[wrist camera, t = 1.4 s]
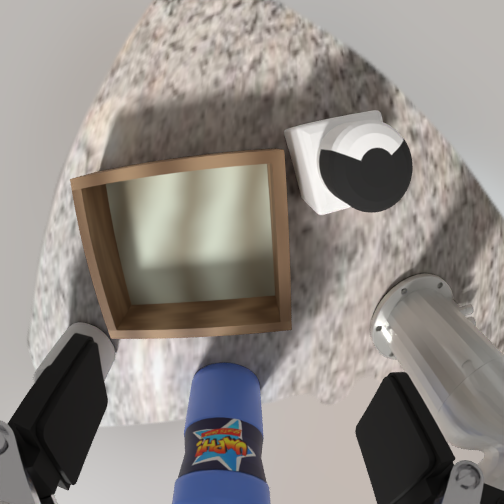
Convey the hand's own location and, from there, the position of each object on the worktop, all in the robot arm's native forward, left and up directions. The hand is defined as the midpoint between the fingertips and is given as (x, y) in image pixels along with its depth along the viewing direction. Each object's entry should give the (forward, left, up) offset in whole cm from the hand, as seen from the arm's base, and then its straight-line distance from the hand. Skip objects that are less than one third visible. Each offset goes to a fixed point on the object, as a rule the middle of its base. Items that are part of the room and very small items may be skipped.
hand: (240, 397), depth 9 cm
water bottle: (+4, +22, -23) cm, 32 cm away
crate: (+5, +1, -23) cm, 23 cm away
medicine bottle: (-9, -6, -23) cm, 25 cm away
